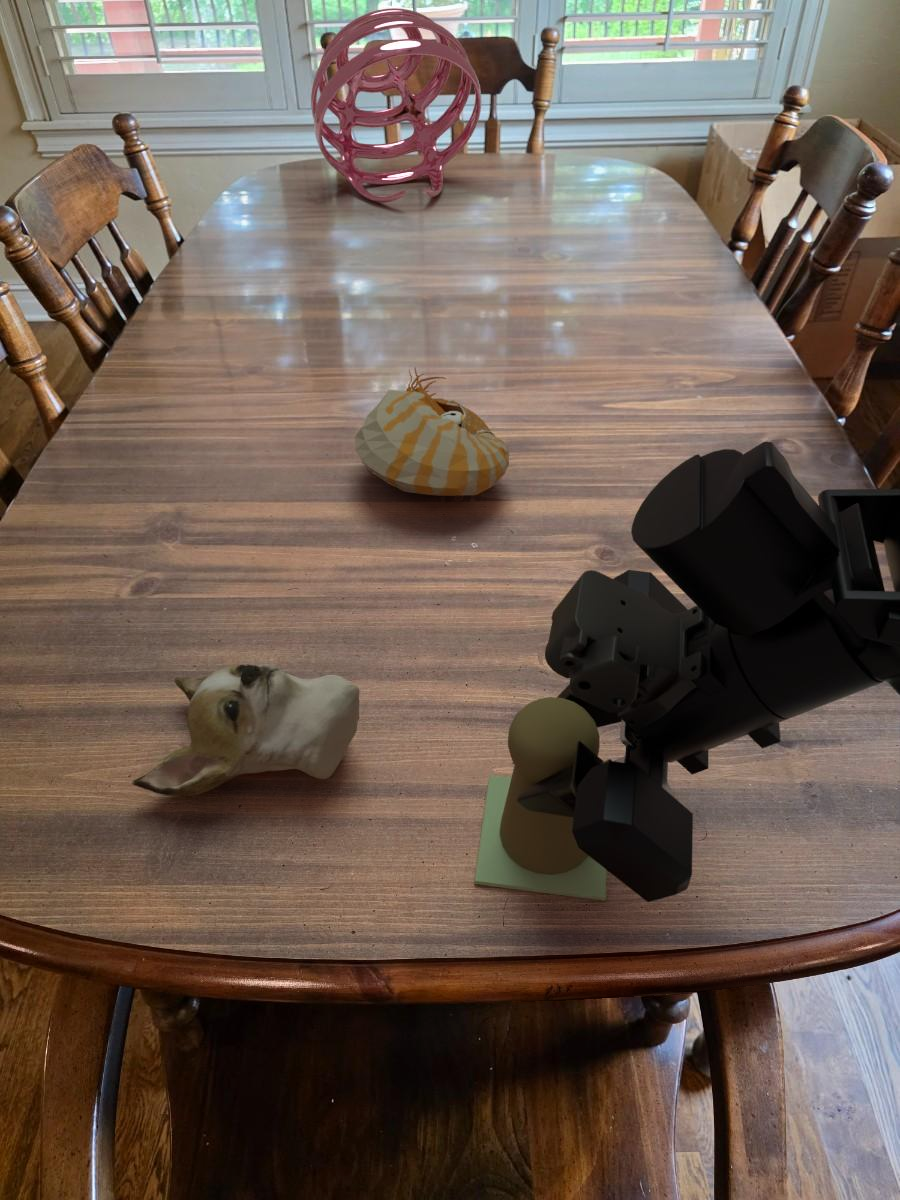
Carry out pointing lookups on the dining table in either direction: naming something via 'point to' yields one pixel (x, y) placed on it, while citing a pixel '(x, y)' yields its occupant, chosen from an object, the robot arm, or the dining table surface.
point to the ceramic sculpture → (257, 728)
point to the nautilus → (430, 444)
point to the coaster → (508, 874)
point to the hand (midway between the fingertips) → (528, 766)
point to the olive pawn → (537, 753)
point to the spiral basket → (406, 111)
